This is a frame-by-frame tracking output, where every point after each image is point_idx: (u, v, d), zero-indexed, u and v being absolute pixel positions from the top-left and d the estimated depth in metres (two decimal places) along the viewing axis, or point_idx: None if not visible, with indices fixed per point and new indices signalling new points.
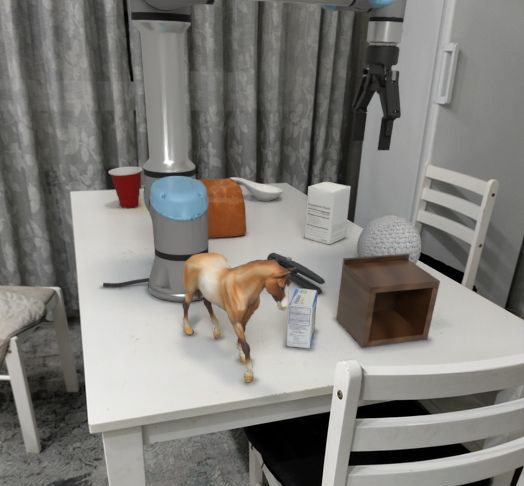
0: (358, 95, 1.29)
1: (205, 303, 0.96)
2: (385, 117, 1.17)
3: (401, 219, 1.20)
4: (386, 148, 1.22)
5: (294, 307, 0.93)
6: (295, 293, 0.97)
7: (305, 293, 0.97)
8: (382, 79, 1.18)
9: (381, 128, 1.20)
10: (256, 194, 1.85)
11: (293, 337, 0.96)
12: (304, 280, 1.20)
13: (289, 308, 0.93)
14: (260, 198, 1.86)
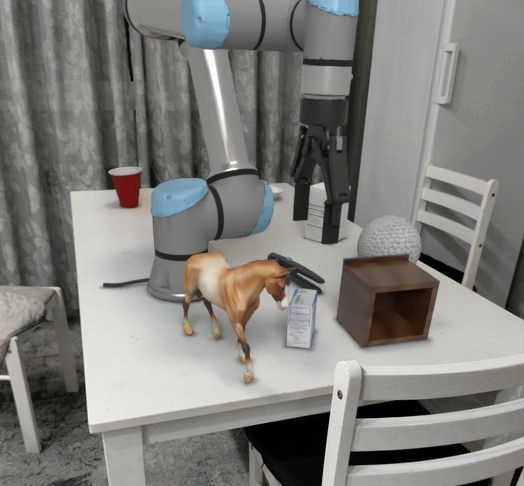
0: (296, 161, 0.93)
1: (205, 303, 0.96)
2: (329, 201, 0.81)
3: (401, 219, 1.20)
4: (333, 241, 0.86)
5: (294, 307, 0.93)
6: (295, 293, 0.97)
7: (305, 293, 0.97)
8: (324, 146, 0.82)
9: (325, 215, 0.84)
10: None
11: (293, 337, 0.96)
12: (304, 280, 1.20)
13: (289, 308, 0.93)
14: None
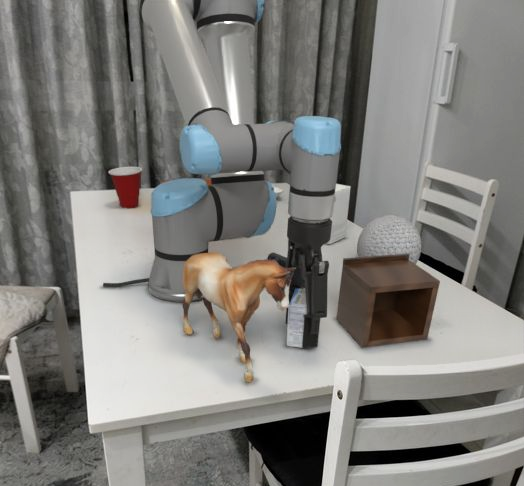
0: None
1: (205, 303, 0.96)
2: (308, 316, 0.91)
3: (401, 219, 1.20)
4: (313, 345, 0.95)
5: (294, 307, 0.93)
6: (295, 293, 0.97)
7: (305, 293, 0.97)
8: (309, 262, 0.89)
9: (305, 324, 0.93)
10: None
11: (293, 337, 0.96)
12: None
13: (289, 308, 0.93)
14: None
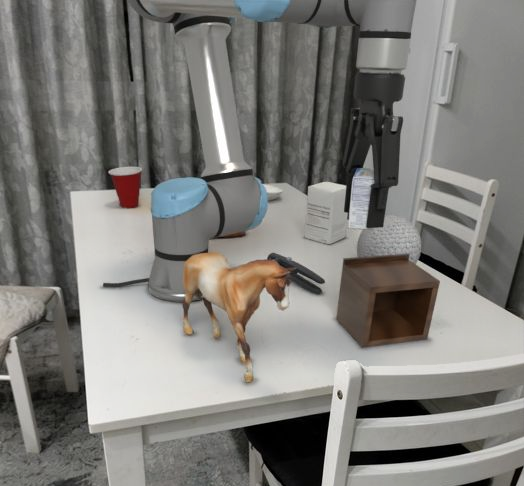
0: (349, 147, 0.90)
1: (205, 303, 0.96)
2: (376, 185, 0.82)
3: (401, 219, 1.20)
4: (379, 225, 0.86)
5: (359, 179, 0.84)
6: (358, 170, 0.88)
7: (368, 170, 0.88)
8: (379, 122, 0.80)
9: (371, 198, 0.84)
10: None
11: (356, 217, 0.87)
12: (304, 280, 1.20)
13: (353, 181, 0.84)
14: None
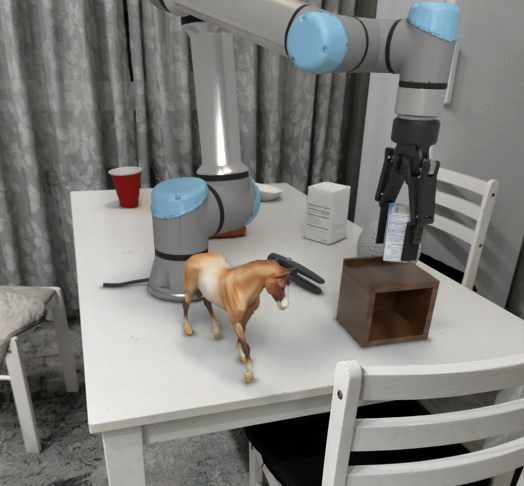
0: (382, 183, 0.95)
1: (205, 303, 0.96)
2: (412, 223, 0.87)
3: None
4: (412, 258, 0.92)
5: (395, 216, 0.89)
6: (391, 206, 0.94)
7: (402, 205, 0.94)
8: (416, 165, 0.85)
9: (406, 234, 0.89)
10: None
11: (391, 250, 0.92)
12: (304, 280, 1.20)
13: (390, 217, 0.89)
14: None
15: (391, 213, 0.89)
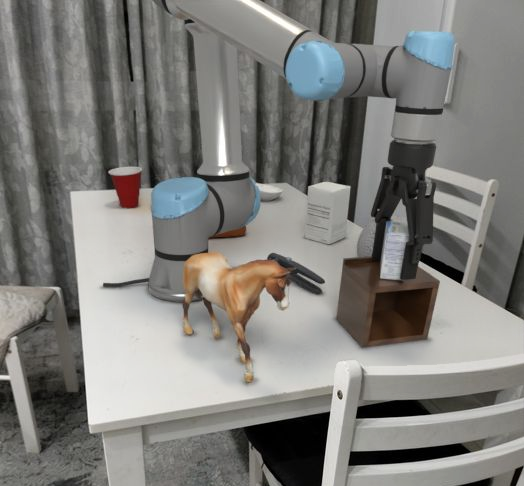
0: (378, 201, 0.97)
1: (205, 303, 0.96)
2: (411, 243, 0.88)
3: (401, 219, 1.20)
4: (411, 277, 0.93)
5: (392, 235, 0.91)
6: (388, 224, 0.95)
7: (399, 224, 0.95)
8: (412, 187, 0.87)
9: (405, 253, 0.90)
10: None
11: (388, 268, 0.94)
12: (304, 280, 1.20)
13: (387, 237, 0.91)
14: None
15: (388, 232, 0.91)
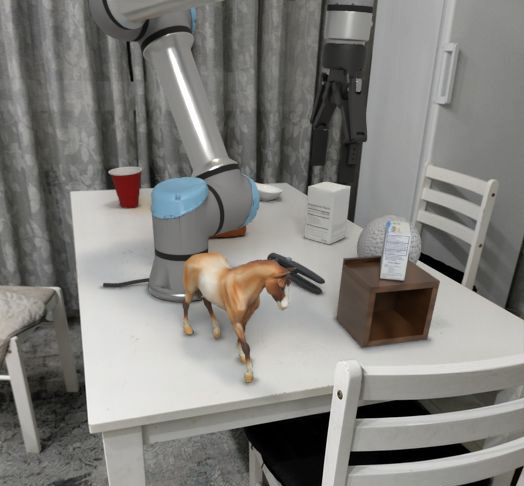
0: (316, 107, 0.99)
1: (205, 303, 0.96)
2: (347, 140, 0.88)
3: (401, 219, 1.20)
4: (349, 180, 0.93)
5: (392, 235, 0.91)
6: (388, 224, 0.95)
7: (399, 224, 0.95)
8: (344, 89, 0.88)
9: (342, 154, 0.90)
10: None
11: (388, 268, 0.94)
12: (304, 280, 1.20)
13: (387, 237, 0.91)
14: (260, 198, 1.86)
15: (388, 232, 0.91)
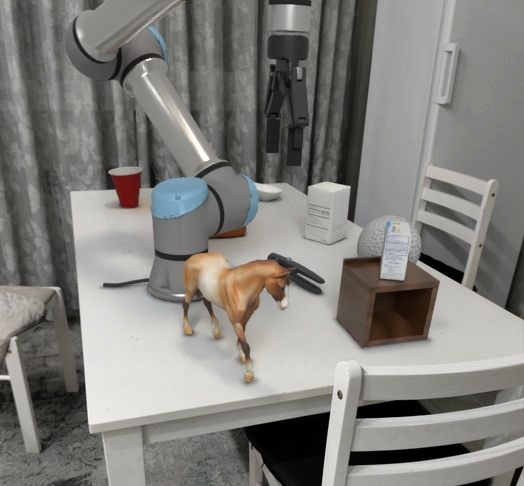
0: (268, 97, 1.05)
1: (205, 303, 0.96)
2: (291, 125, 0.94)
3: (401, 219, 1.20)
4: (297, 163, 0.98)
5: (392, 235, 0.91)
6: (388, 224, 0.95)
7: (399, 224, 0.95)
8: (287, 78, 0.94)
9: (288, 139, 0.96)
10: None
11: (388, 268, 0.94)
12: (304, 280, 1.20)
13: (387, 237, 0.91)
14: (260, 198, 1.86)
15: (388, 232, 0.91)
